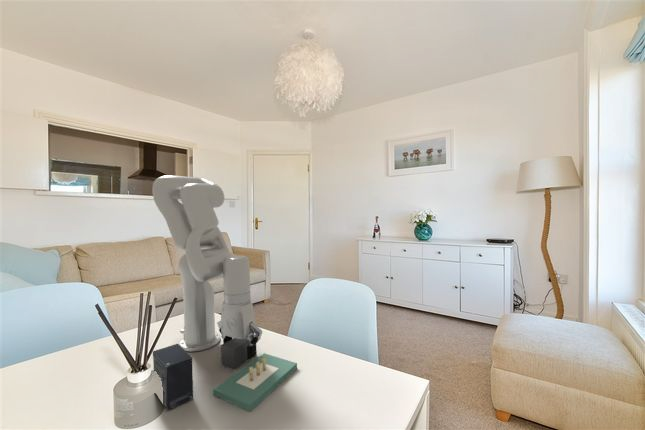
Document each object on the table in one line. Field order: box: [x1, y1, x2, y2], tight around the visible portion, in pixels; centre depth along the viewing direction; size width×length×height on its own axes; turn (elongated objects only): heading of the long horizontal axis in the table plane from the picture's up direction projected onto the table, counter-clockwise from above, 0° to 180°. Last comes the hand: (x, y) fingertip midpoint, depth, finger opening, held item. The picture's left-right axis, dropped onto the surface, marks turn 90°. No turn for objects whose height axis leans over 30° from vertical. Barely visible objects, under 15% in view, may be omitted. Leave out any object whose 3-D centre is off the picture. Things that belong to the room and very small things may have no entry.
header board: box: [212, 352, 298, 412], centre depth 76 cm, size 12×19×2 cm, turn 151°
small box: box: [152, 343, 194, 412], centre depth 70 cm, size 11×6×10 cm, turn 45°
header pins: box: [249, 357, 266, 381], centre depth 76 cm, size 1×6×4 cm, turn 151°
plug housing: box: [220, 336, 252, 371], centre depth 86 cm, size 5×9×6 cm, turn 151°
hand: (240, 353), depth 86 cm, fingers open, 9 cm apart
